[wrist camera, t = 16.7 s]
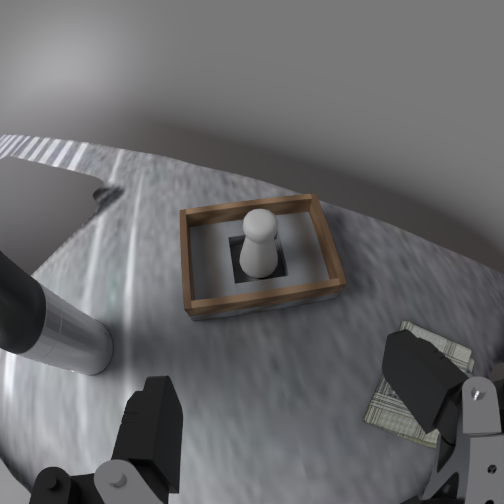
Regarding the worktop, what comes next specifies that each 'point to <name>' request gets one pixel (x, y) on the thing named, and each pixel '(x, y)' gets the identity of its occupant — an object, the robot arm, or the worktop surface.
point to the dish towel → (393, 409)
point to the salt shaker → (259, 243)
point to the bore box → (231, 232)
